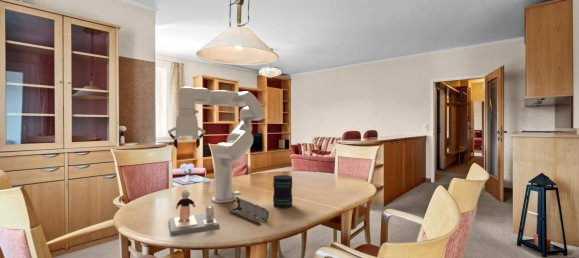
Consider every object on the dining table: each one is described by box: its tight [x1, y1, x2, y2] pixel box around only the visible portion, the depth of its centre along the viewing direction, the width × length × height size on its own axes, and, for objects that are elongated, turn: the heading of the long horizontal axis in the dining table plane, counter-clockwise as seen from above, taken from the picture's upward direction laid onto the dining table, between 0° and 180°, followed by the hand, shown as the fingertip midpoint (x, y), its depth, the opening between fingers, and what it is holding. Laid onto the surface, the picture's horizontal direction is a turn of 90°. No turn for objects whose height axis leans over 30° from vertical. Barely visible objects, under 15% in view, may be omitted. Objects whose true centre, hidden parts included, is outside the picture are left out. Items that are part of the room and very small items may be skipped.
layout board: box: [168, 213, 220, 236], centre depth 117 cm, size 18×16×2 cm
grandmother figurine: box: [175, 189, 196, 222], centre depth 117 cm, size 8×4×13 cm, turn 117°
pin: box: [205, 205, 215, 223], centre depth 116 cm, size 3×3×6 cm
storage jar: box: [272, 174, 293, 210], centre depth 145 cm, size 10×10×15 cm
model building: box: [227, 196, 270, 225], centre depth 129 cm, size 7×7×25 cm
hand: (187, 147), depth 137 cm, fingers open, 9 cm apart
